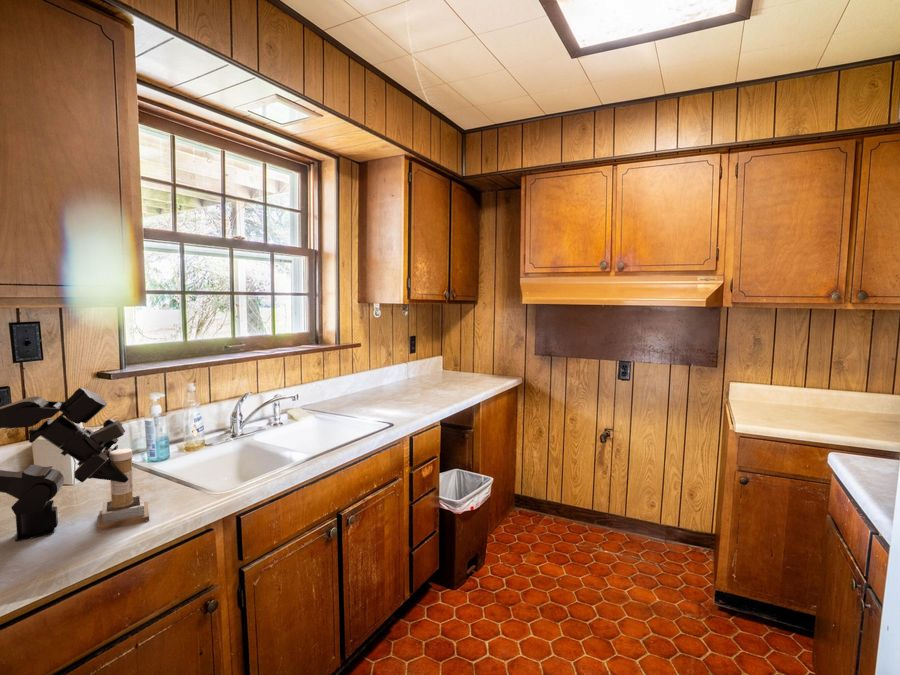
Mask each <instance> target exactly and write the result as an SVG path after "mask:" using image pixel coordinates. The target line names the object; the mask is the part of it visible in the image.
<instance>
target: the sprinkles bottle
mask: <svg viewBox="0 0 900 675" xmlns="http://www.w3.org/2000/svg"><path fill="white" fill-rule="evenodd" d="M111 454H112V460H113V464H114V465H115V466H116V467H117V468H118V469H119V470H120V471H122V472H123V473H124V474H125V475H126V476H127V477H128V478H129V479H128V481H127V482H125V483H123V482H117V481H111V480H110V495H111V496H110V497H111V499H110V500H112V503H111V506H112V507H113V508H122V507H126V506H129V505H131V504H132V503H133V496H134V495H133V491H134V488H133V487H134V486H133V482H134V481H133V480H134V479H133V464H132V462H133V460H132V459H133V450H132V449H131V448H118V449H117V450H114V451H111V452H110V453H109V456H110V455H111Z"/></svg>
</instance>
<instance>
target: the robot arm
mask: <svg viewBox="0 0 900 675" xmlns="http://www.w3.org/2000/svg"><path fill="white" fill-rule="evenodd" d="M107 405H108V402H107V401H106V400H105V399H104V398H103V397H102V396H101V395H99V394H98V393H96V392H93V391H91V390H88V389H86V388H84V387H83V386H80V387H79V388H77V389H76V390H75V391H74V392H73V394H72V395H71V396H70V397H69V398H67V399H66V400H65V401H58V400H57V401H55V400H52V401H51V400H46V398H42V397H41V396H29V397H27V398H23V399H19V400H17V401H14V402H11V403H8V404H6V405H2V406H0V429H17V428H30V427H32V428H30V429H29V430H28V435H29V436H28V437H29V438H28V442H29V443H34V442H35V441H36V440H37V439H38V438H39V437H41V438H42V439H44V440H46V441H47V442H49V443H50V444H52V445H53V446H55V447H57V448H58V449H59V450H60V451H61V453H60V454H61V455H62V456H63V457H65V456H66V455H68V456H70V457H71V458H73V459H75V460H76V461H78V462H77V466H78V467H77V468H76V470H75V471H73V472H74V479H76V480H77V481H79V482H80V483H84V482H85V481H86V480H87V479H95V480H96V479H97V480H105V481H110V482H111V481H117V482H123V483H125V482H127V481H128V479H129V478H128V477H127V476H126V475H125V474H124V473H123V472H122V471H120V470H119V469H118V468H117V467H116V466H115V465H114V464H113V460H112V454H111V455H110V456H109V453H110V452H111V451H114V450H117V449H119V448H118V447H119V445H118V444H117V443H118V441H119V438H121V437H123V436H124V433H125V432H126V430H125V428H124V427H123V422H120V421H119V420H118V419H117V420H115V419H114V418H112V417H111V418H109V419H108V418H107V419H105V421H104V422H103V426H102V427H100V428H99V429H97V430H94V431H93V430H92V429H90V428H87V429H83V428H81V427H80V426H79V425H80V424H81V423H83V424H87V423H89V422H90V421H91V420H92V419H93V418H94V417H96V415H98V414H99V413H100V412H101V411H102V410H103V409H104V408H106V406H107ZM60 412H61V414H60V415H59V416H57V417H56V418H55V419H53V417H54V416H56V415H57V414H58V413H60ZM42 420H45V421H44V422H43V423H41V424H40V425H39V426H37V427H33V426H36V425H37V424H39V423H40V422H41V421H42ZM113 445H115V446H114V447H113V448H112V446H113ZM64 483H65V478H64V475H63V473H62V472H61V471H59V470H58V469H54V467H53V465H51V466H42V465H39V464H38V465H37V464H30V465H28V467H26V469H24V470H21V471H13V470H12V471H11V470H3V469H0V493H5V494H7V495H9V496H11V497H13V498H15V499H17V500H16V501H15V503H13V504H12V505H11V510H12V512H13V513H14V515H15V526H16V535H15V538H14V540H15V542H19V541H23V540H24V541H25V540H28V539H33V538H34V539H35V538H37V537H43V536H48V535H52V534H54V532H55V529H56V528H57V527H58V523H59V517H58V515H59V514H58V506H57V505H56V506H55V503H54V500H53V498H55V496H56V495H57V494H58V492H59V491H60V490H61V488H62V487H63V485H64Z"/></svg>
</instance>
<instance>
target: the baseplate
mask: <svg viewBox="0 0 900 675" xmlns="http://www.w3.org/2000/svg"><path fill="white" fill-rule="evenodd" d="M134 507H135V506H134ZM129 508H130V507H129ZM102 510H103V509H102ZM102 510H99V512H98V521H97V532H102V531H105V530H109V529H110V530H111V529H114V528H115V527H116V528H120V526H121V527H124V526H129V525H134V523H135V524H139V523H143V522H142V521H144V522H147V521H146V520H148V521H150V512H149V502H148V501H144V515H145V516H141V517H137V518H132V519H127V520H122V521H117V522H113V523H108V524H103V523H102ZM138 522H139V523H138ZM116 528H115V529H116Z"/></svg>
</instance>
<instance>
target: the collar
mask: <svg viewBox="0 0 900 675" xmlns="http://www.w3.org/2000/svg"><path fill="white" fill-rule="evenodd" d="M144 502H145V501H144V494H143V493H141V494H137V495H133V503H132V504H131V505H129V506H126V507H122V508H113V507H112V506H111V503H112V500H111V499H110V500H105V501H103V502H102V503H103V504H102V523H103V524H108V523H113V522H117V521H122V520H127V519H132V518H137V517H141V516H145V515H144ZM134 506H135V507H134ZM129 507H130V508H129Z"/></svg>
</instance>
